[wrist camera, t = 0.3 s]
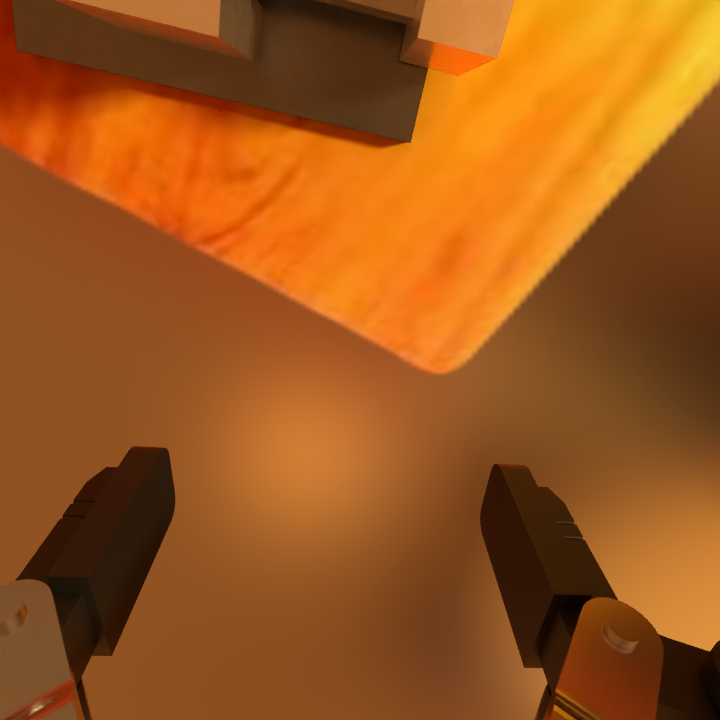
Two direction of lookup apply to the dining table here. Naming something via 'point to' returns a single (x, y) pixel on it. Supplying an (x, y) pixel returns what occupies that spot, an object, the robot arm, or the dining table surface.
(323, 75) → the shaft housing
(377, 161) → the dining table surface
